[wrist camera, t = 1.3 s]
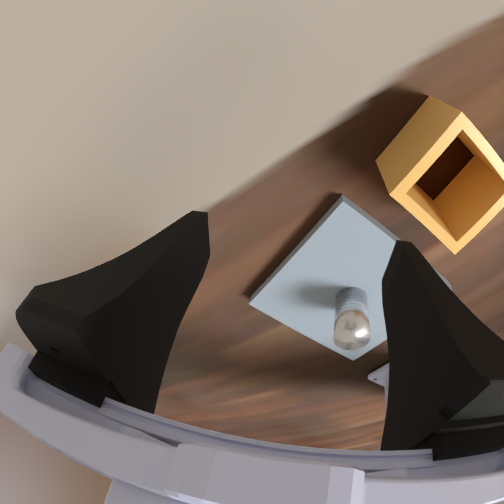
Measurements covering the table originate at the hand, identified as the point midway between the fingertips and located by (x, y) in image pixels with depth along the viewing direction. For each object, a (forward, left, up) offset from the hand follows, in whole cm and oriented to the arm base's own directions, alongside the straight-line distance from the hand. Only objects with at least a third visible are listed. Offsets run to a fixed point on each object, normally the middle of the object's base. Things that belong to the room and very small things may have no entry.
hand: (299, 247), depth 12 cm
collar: (-6, -5, -9) cm, 12 cm away
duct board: (-9, +7, -9) cm, 14 cm away
